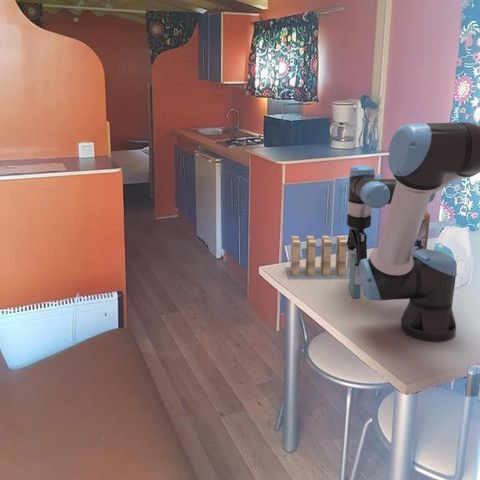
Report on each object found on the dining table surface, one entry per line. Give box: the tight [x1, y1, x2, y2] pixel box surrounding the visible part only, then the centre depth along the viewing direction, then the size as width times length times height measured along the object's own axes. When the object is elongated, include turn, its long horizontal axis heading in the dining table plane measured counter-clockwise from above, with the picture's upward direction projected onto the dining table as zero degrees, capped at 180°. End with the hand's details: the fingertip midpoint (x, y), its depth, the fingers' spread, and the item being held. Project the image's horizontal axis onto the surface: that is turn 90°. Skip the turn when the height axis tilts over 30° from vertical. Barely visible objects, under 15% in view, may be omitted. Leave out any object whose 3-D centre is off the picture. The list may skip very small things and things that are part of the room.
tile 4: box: [334, 235, 348, 276], centre depth 202 cm, size 7×2×13 cm, turn 0°
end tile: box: [348, 254, 362, 299], centre depth 185 cm, size 7×2×13 cm, turn 1°
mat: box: [284, 266, 350, 280], centre depth 204 cm, size 12×32×1 cm, turn 90°
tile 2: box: [305, 235, 317, 277], centre depth 202 cm, size 7×2×13 cm, turn 0°
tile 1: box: [290, 235, 301, 277], centre depth 202 cm, size 7×2×13 cm, turn 0°
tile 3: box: [319, 235, 333, 276], centre depth 202 cm, size 7×2×13 cm, turn 0°
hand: (355, 275), depth 185 cm, fingers open, 13 cm apart
